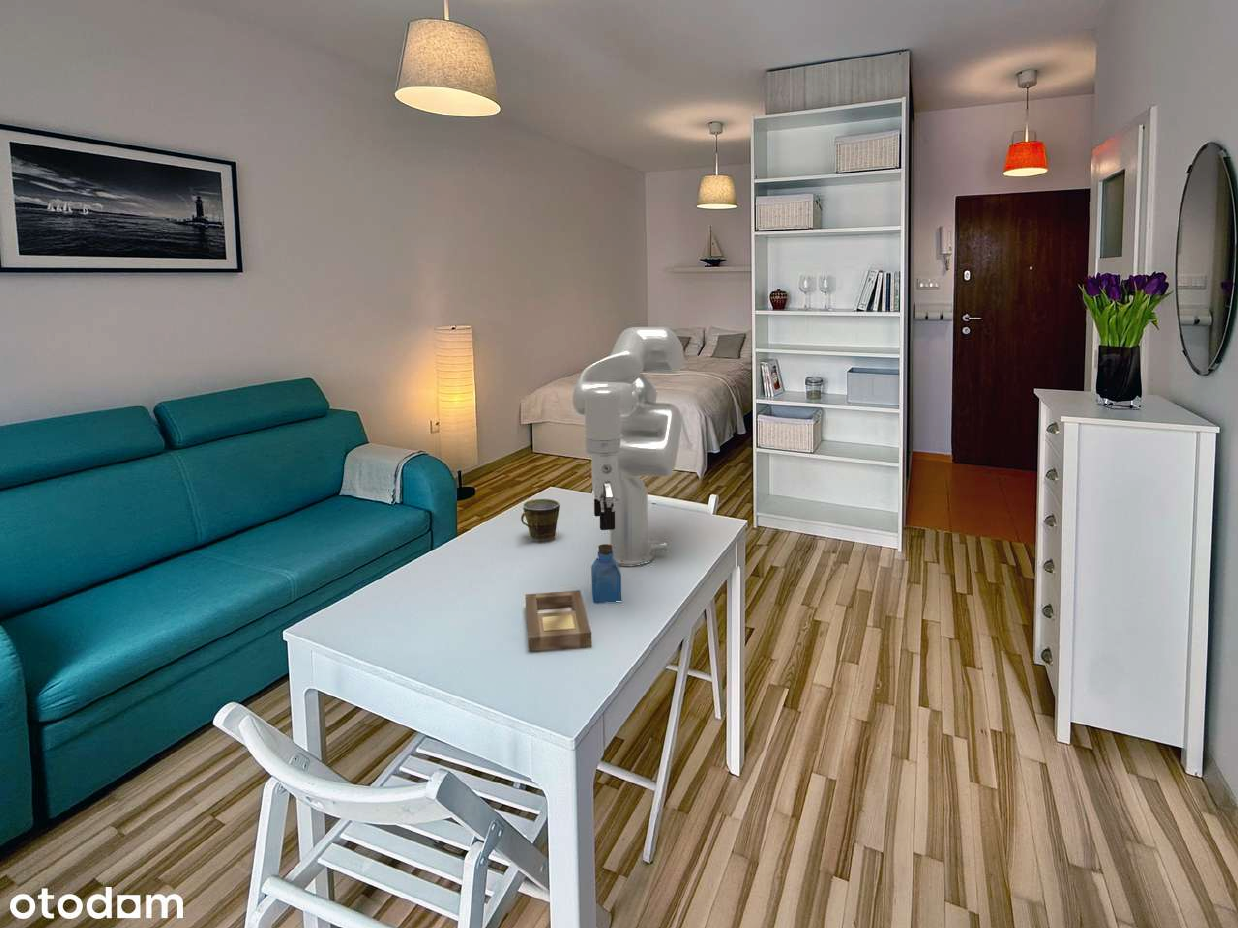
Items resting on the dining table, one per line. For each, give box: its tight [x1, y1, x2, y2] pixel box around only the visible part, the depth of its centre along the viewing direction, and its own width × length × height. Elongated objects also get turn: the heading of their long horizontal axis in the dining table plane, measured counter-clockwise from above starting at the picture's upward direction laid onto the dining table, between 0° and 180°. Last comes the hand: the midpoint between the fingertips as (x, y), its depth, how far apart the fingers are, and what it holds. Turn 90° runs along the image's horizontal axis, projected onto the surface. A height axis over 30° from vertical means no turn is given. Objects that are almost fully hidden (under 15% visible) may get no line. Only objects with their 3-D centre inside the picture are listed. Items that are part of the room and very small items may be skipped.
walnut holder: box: [525, 589, 592, 653], centre depth 151 cm, size 12×20×3 cm, turn 9°
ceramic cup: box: [520, 498, 561, 544], centre depth 198 cm, size 13×10×10 cm
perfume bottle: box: [590, 543, 622, 604], centre depth 163 cm, size 6×6×12 cm
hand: (604, 522), depth 159 cm, fingers open, 9 cm apart
